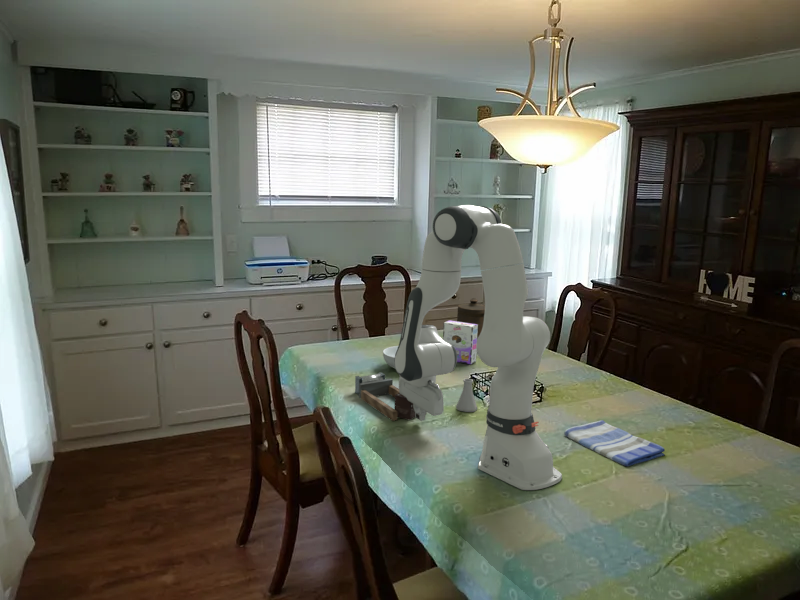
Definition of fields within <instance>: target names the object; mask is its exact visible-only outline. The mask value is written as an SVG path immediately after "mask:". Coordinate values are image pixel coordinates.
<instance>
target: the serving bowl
mask: <svg viewBox="0 0 800 600" xmlns="http://www.w3.org/2000/svg"><path fill="white" fill-rule="evenodd" d="M398 346H399V345H394V346H389V347H386V348H384V349H383V350H382V356H383V360H384V361H385V363H386V364H387V365H388V366H389V367H391V368H393V369H395V365H394V359H395V354H396V351H397V349H398Z"/></svg>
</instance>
